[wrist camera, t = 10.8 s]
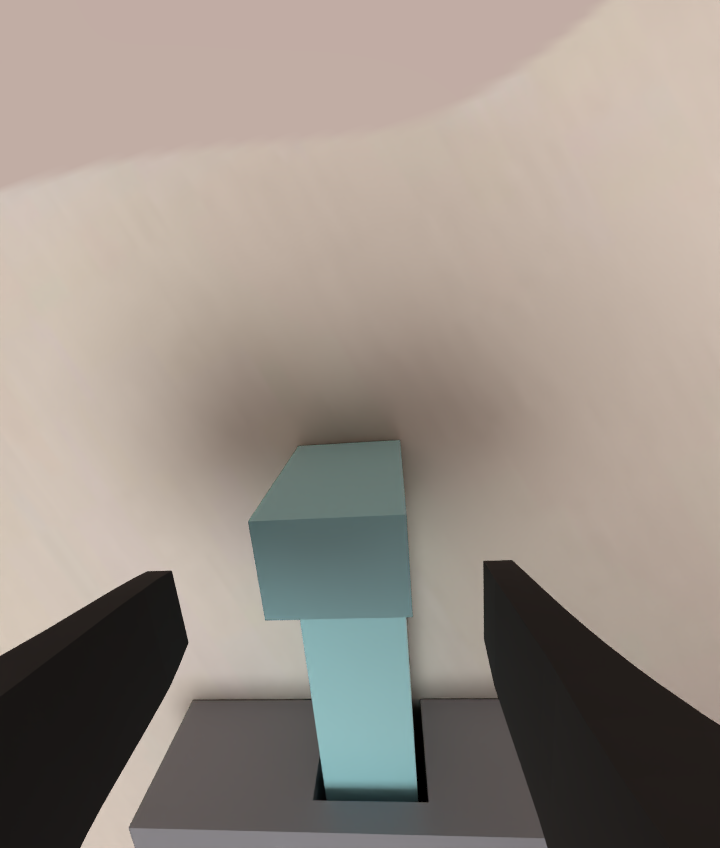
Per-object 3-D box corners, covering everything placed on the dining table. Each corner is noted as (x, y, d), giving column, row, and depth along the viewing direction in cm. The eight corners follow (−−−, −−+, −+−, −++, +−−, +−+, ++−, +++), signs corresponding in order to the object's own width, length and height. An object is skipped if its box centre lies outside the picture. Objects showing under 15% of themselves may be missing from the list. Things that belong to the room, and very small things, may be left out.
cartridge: (400, 440, 16) (406, 514, 10) (418, 736, 20) (430, 912, 14) (298, 446, 16) (248, 521, 10) (336, 736, 20) (315, 907, 14)
